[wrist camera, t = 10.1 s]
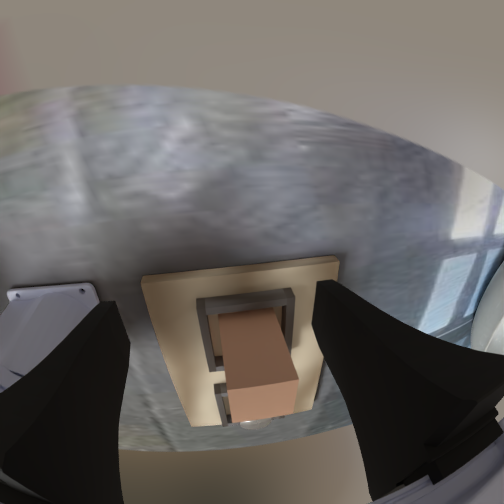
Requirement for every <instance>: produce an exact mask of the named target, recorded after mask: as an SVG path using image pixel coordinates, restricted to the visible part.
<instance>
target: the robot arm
mask: <svg viewBox="0 0 504 504" xmlns="http://www.w3.org/2000/svg"><path fill="white" fill-rule="evenodd" d="M81 288H82V289H84V290H85V291H82V290H81ZM7 296H8V298H9V300H10V303H9V304H8V306H7V307H6V308H5V310H4V311H3V313H2V314H1V315H0V504H124V501H123V496H122V490H121V482H120V472H119V454H118V431H119V418H120V412H121V406H122V400H123V394H124V389H125V384H126V378H127V373H128V368H129V357H130V340H129V338H128V335H127V333H126V330H125V327H124V325H123V322H122V319H121V317H120V314H119V311H118V308H117V305H116V302H115V301H108V302H100V301H99V299H98V296H97V293H96V290H95V288H94V286H93V285H92V284H90V283H78V284H66V285H54V286H42V287H29V288H16V289H9V290H8V291H7ZM311 325H312V328H313V331H314V334H315V337H316V340H317V343H318V346H319V348H320V350H321V352H322V354H323V357H324V359H325V361H326V363H327V365H328V367H329V369H330V371H331V373H332V375H333V377H334V379H335V381H336V383H337V385H338V387H339V389H340V391H341V393H342V395H343V397H344V400H345V402H346V405H347V408H348V411H349V414H350V417H351V419H352V422H353V426H354V428H355V432H356V435H357V439H358V442H359V446H360V450H361V454H362V458H363V462H364V467H365V471H366V477H367V482H368V487H369V494H370V496H371V498H372V501H373V502H371V503H368V504H504V418H503V419H502V420H501V421H500V422H497V421H496V419H495V417H496V416H497V415H498V411H497V410H496V408H495V406H496V405H497V403H498V402H499V401H500V400H501V399H502V398H503V396H504V355H502V354H496V353H489V352H483V351H478V350H474V349H470V348H466V347H462V346H459V345H456V344H452V343H449V342H447V341H444V340H441V339H438V338H436V337H433V336H431V335H428V334H426V333H424V332H421V331H419V330H417V329H415V328H413V327H411V326H409V325H407V324H405V323H403V322H401V321H399V320H397V319H396V318H394V317H392V316H390V315H388V314H387V313H385V312H383V311H382V310H380V309H378V308H377V307H375V306H374V305H372V304H370V303H369V302H367V301H366V300H364V299H363V298H361V297H360V296H358V295H357V294H355V293H354V292H352V291H350V290H349V289H347V288H346V287H344V286H343V285H341V284H340V283H338V282H336V281H334V280H333V279H330V280H322V281H317V282H316V291H315V299H314V307H313V315H312V322H311Z"/></svg>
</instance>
